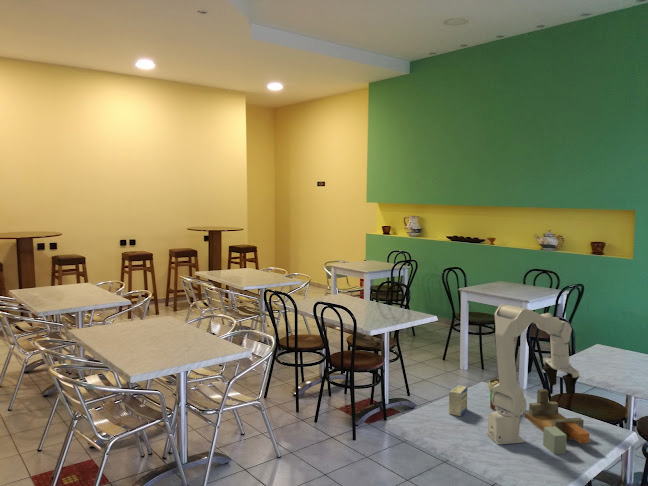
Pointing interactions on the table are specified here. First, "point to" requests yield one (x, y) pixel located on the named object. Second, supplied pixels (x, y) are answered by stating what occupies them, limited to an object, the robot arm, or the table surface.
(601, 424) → the table surface
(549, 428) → the block
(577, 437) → the clamp jaw
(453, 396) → the medicine box
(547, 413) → the press
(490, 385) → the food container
